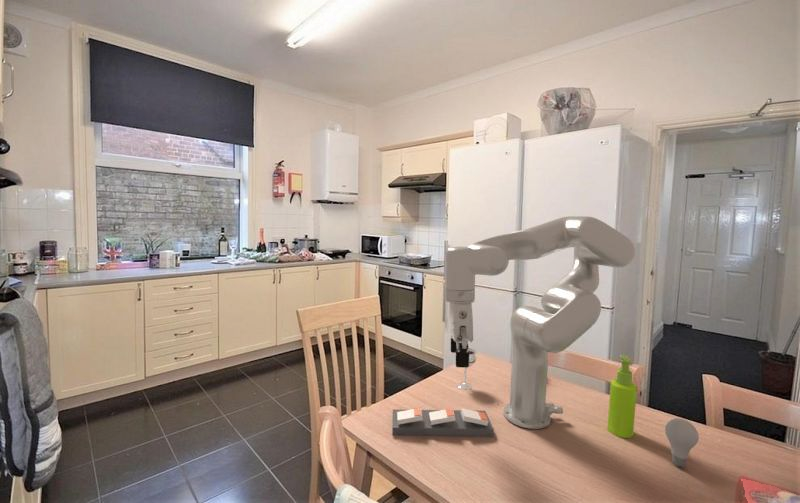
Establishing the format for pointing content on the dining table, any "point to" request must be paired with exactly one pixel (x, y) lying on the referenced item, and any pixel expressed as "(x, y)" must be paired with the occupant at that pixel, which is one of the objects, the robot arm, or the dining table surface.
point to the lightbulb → (681, 439)
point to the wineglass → (471, 361)
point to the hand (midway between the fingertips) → (459, 359)
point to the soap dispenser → (622, 402)
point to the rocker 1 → (409, 416)
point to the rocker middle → (442, 416)
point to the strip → (441, 426)
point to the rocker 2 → (474, 417)
